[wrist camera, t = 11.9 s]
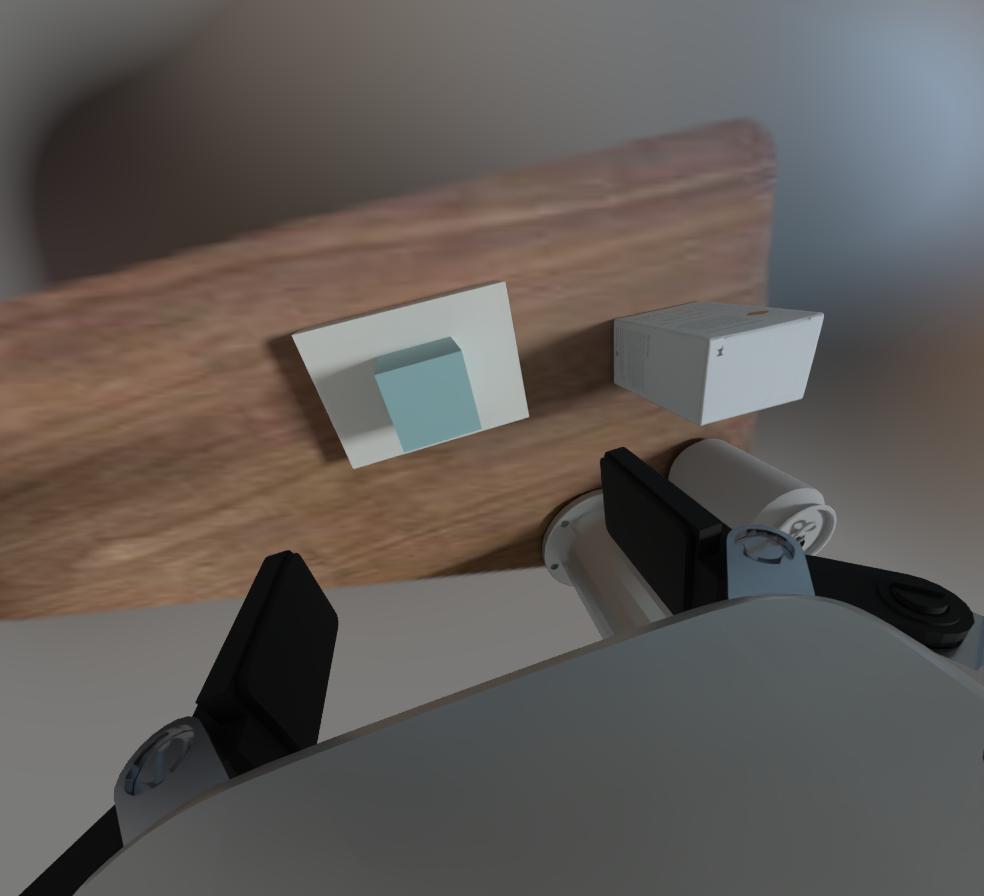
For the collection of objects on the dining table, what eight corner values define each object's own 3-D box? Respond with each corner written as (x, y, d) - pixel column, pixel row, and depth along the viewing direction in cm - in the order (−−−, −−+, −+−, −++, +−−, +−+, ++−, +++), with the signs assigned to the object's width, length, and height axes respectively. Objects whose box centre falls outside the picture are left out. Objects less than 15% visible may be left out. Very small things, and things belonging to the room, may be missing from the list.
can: (652, 497, 39) (745, 580, 29) (677, 433, 36) (791, 499, 26) (709, 497, 41) (815, 575, 31) (736, 436, 38) (865, 500, 28)
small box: (611, 383, 32) (697, 429, 23) (611, 317, 30) (708, 339, 20) (692, 364, 33) (805, 401, 24) (699, 299, 31) (829, 312, 21)
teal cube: (450, 336, 25) (461, 350, 21) (468, 403, 27) (482, 429, 23) (378, 356, 24) (374, 375, 20) (403, 422, 27) (404, 452, 22)
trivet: (496, 280, 26) (505, 281, 24) (519, 406, 31) (529, 417, 29) (300, 329, 25) (291, 335, 23) (356, 454, 30) (353, 468, 27)
